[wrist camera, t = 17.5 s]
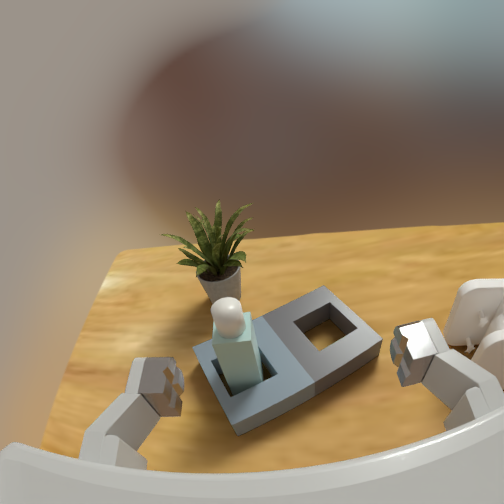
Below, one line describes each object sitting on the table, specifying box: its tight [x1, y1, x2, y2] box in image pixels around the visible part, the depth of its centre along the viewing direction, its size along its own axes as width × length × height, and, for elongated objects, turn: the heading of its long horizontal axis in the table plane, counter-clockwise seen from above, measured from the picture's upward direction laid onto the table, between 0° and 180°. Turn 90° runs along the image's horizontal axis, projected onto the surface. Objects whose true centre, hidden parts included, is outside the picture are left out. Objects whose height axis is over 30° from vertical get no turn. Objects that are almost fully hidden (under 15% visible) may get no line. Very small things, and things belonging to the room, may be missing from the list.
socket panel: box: [192, 285, 383, 436], centre depth 39 cm, size 21×13×4 cm, turn 116°
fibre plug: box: [211, 297, 264, 396], centre depth 34 cm, size 4×4×14 cm
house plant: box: [162, 200, 254, 304], centre depth 48 cm, size 14×14×16 cm
